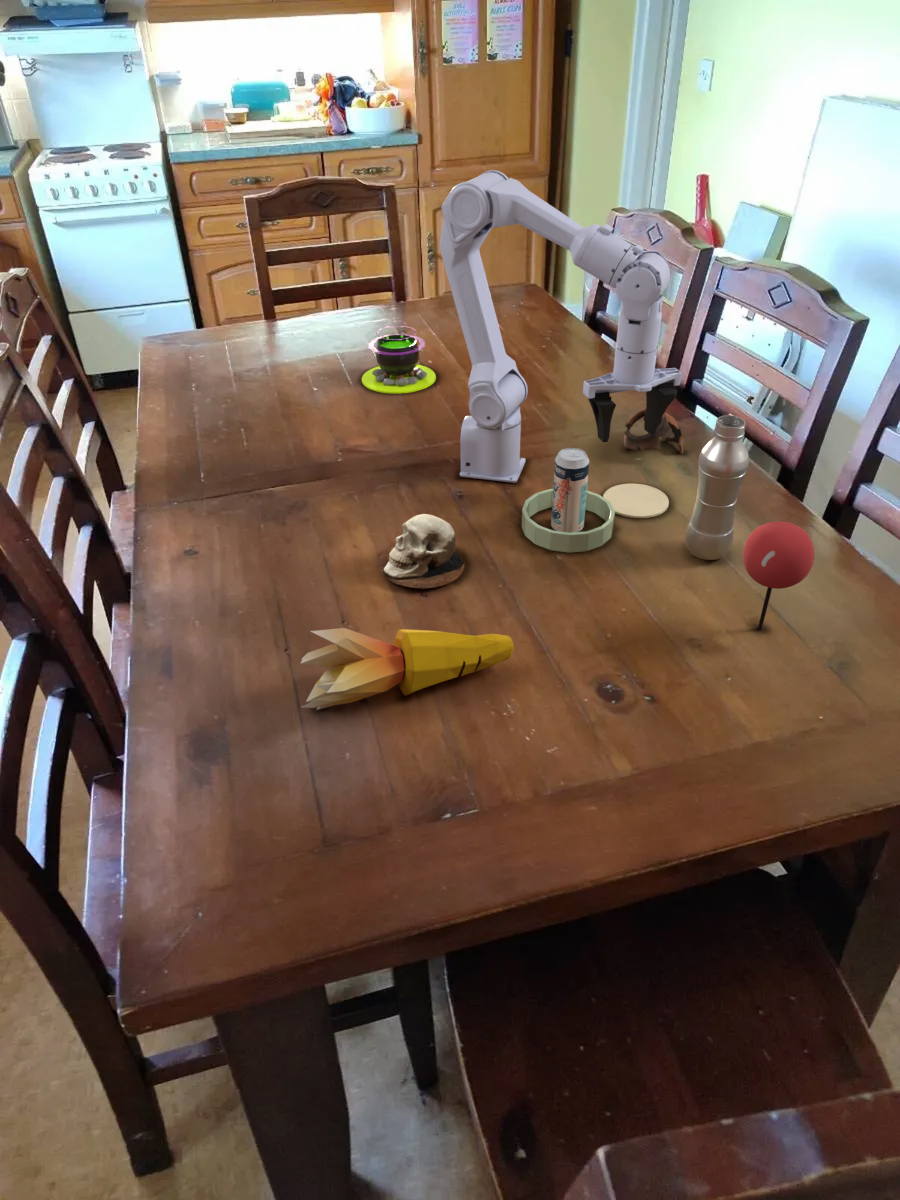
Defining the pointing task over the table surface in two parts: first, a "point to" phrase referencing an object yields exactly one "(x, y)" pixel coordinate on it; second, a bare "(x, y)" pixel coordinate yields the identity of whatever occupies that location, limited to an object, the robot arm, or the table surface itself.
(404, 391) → the toy cauldron
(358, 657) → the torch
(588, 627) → the table surface
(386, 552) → the skull
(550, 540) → the ring
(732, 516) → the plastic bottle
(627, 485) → the coaster
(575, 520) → the beer can
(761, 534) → the lollipop
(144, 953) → the table surface
